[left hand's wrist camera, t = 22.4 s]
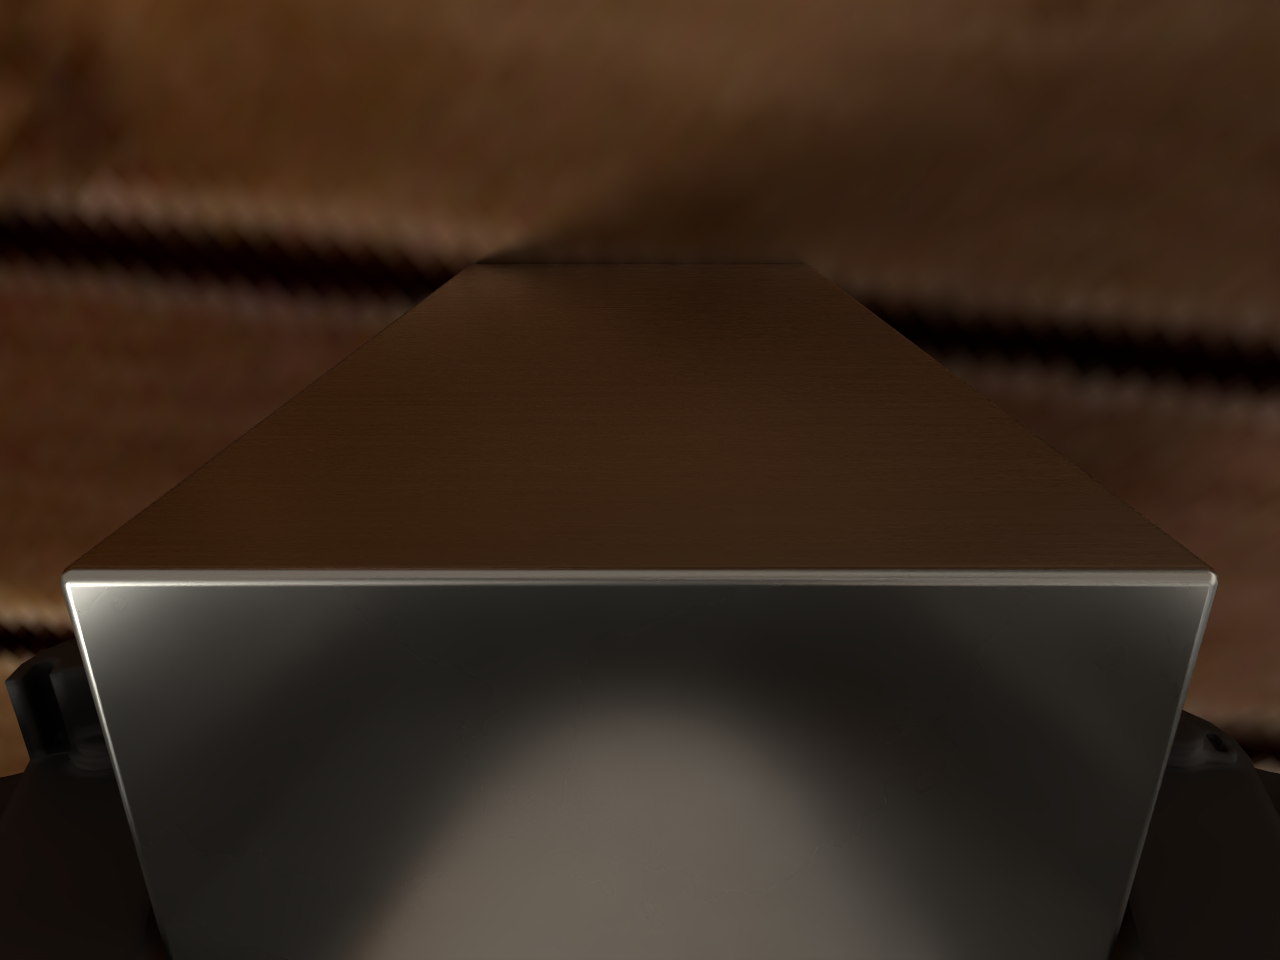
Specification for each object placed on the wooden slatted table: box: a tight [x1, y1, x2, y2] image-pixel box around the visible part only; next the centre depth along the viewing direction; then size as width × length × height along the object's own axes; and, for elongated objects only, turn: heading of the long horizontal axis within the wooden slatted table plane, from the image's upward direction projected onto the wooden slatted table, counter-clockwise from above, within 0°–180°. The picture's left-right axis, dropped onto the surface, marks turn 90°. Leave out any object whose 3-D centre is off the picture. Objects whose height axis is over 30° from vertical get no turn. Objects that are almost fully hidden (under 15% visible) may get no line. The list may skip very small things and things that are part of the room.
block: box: [61, 264, 1218, 960], centre depth 11 cm, size 6×8×12 cm
